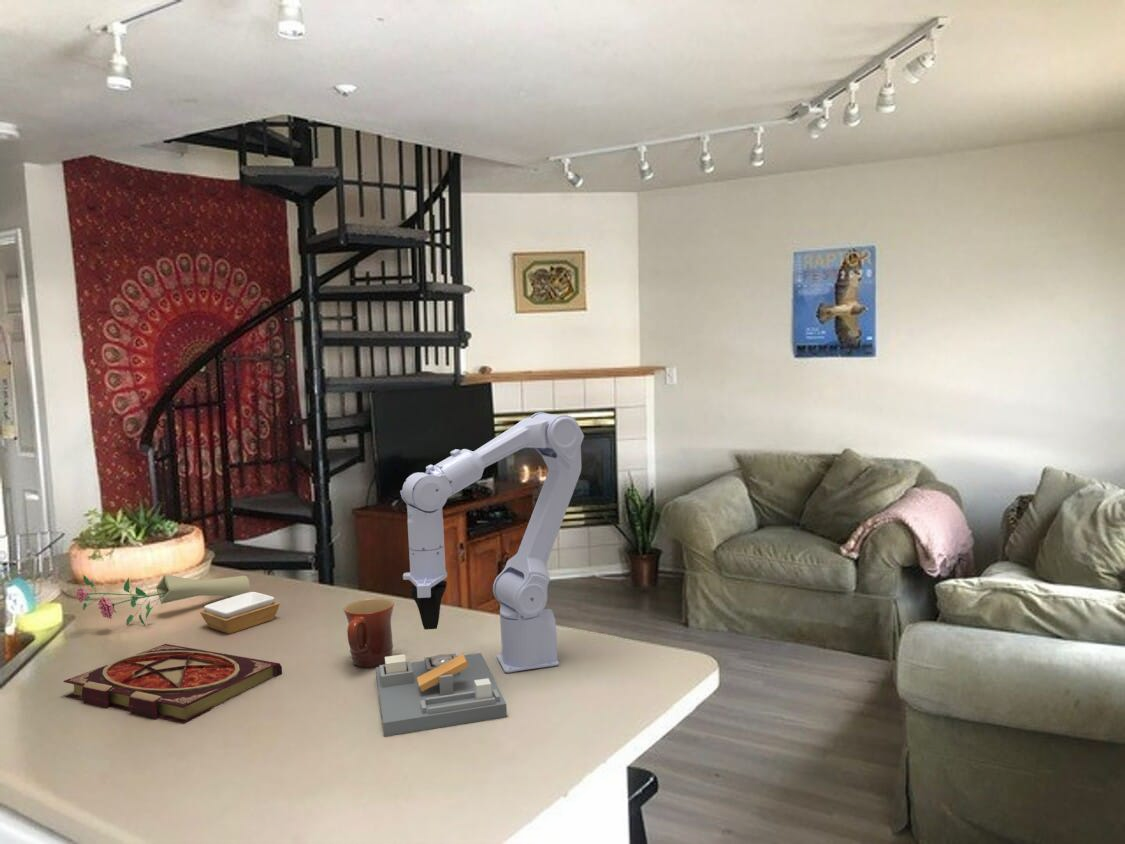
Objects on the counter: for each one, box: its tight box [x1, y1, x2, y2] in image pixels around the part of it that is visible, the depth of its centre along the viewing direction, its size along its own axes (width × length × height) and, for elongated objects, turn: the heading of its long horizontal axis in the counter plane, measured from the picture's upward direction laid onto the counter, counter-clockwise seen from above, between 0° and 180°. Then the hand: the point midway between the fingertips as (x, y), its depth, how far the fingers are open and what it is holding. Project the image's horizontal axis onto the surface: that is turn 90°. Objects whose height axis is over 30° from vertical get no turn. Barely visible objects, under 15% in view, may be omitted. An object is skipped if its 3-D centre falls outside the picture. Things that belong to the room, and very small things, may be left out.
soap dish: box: [199, 591, 280, 635], centre depth 173 cm, size 12×10×5 cm
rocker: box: [417, 653, 469, 691], centre depth 131 cm, size 8×4×1 cm, turn 106°
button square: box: [384, 654, 407, 674], centre depth 135 cm, size 3×3×2 cm
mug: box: [343, 597, 395, 668], centre depth 147 cm, size 12×9×10 cm
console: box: [375, 652, 508, 737], centre depth 133 cm, size 18×22×5 cm
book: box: [63, 643, 283, 725], centre depth 142 cm, size 28×21×5 cm
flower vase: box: [75, 574, 251, 627], centre depth 180 cm, size 12×12×35 cm
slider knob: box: [474, 678, 492, 700], centre depth 126 cm, size 2×2×3 cm
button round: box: [431, 653, 452, 667], centre depth 138 cm, size 3×3×2 cm
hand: (430, 627), depth 137 cm, fingers closed
